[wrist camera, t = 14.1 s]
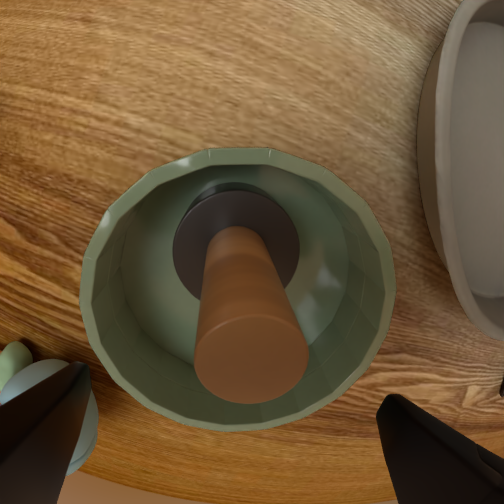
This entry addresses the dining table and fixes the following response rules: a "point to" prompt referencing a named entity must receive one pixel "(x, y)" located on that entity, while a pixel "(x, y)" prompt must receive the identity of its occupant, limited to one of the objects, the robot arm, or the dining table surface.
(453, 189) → the cake pan
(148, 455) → the dining table surface
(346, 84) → the dining table surface
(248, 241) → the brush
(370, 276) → the bowl
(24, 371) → the toy flower bud
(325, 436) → the dining table surface
